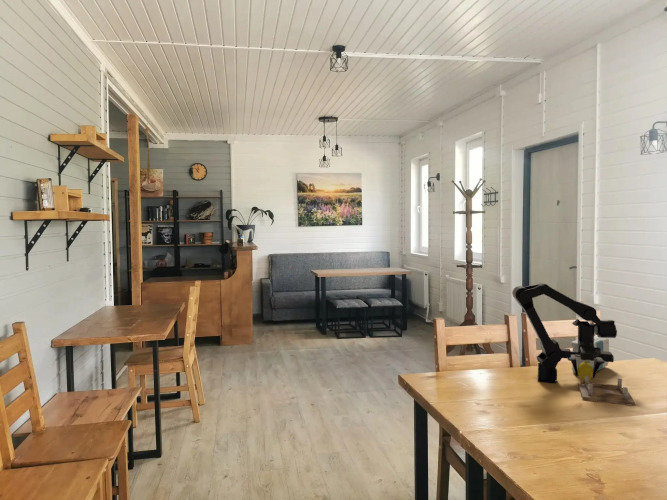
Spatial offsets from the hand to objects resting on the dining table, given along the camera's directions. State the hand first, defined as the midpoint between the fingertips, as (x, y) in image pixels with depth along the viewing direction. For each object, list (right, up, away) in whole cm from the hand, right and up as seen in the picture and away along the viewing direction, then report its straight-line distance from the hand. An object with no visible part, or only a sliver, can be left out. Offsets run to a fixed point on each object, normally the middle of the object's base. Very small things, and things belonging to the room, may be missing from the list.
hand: (585, 376), depth 199 cm
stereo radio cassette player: (+10, -2, +16) cm, 19 cm away
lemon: (0, -2, 0) cm, 2 cm away
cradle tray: (-1, -3, -16) cm, 16 cm away
